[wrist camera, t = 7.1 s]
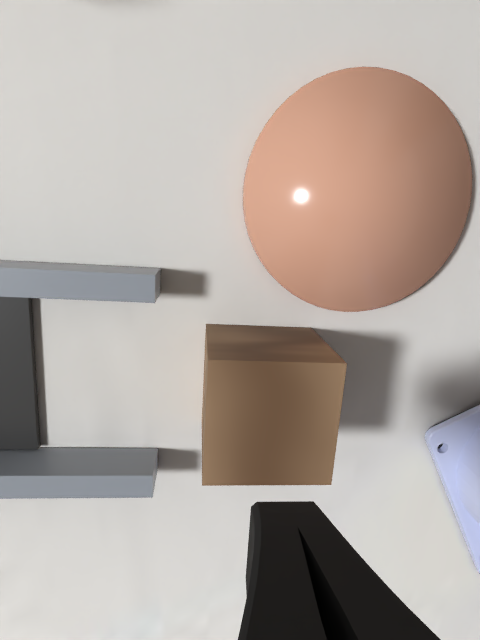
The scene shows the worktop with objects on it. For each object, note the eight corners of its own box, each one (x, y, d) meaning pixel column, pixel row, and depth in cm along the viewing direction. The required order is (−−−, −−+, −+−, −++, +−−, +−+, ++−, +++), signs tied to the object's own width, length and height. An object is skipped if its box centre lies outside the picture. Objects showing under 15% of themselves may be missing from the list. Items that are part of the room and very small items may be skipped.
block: (310, 327, 18) (347, 363, 13) (300, 422, 19) (331, 484, 14) (206, 323, 17) (208, 359, 13) (201, 421, 18) (202, 485, 14)
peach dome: (488, 251, 17) (498, 252, 17) (297, 343, 18) (300, 348, 17) (422, 28, 15) (430, 21, 14) (203, 138, 15) (202, 135, 15)
